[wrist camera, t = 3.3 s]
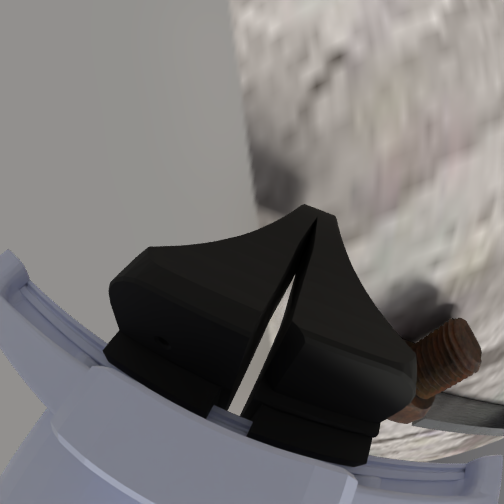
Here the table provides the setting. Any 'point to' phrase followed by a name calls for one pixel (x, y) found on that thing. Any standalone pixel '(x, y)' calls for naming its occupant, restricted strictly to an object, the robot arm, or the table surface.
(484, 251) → the table surface
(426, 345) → the bolt
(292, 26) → the table surface
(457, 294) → the table surface
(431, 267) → the table surface
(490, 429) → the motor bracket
